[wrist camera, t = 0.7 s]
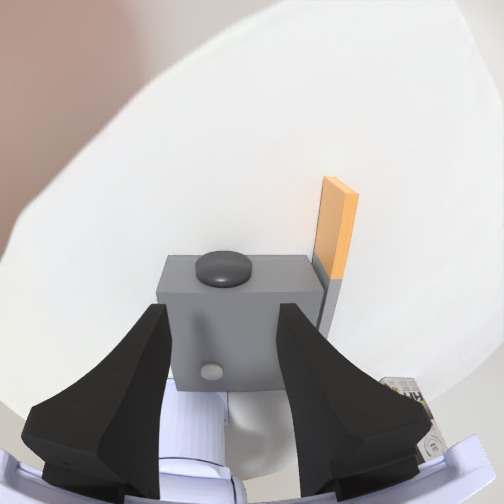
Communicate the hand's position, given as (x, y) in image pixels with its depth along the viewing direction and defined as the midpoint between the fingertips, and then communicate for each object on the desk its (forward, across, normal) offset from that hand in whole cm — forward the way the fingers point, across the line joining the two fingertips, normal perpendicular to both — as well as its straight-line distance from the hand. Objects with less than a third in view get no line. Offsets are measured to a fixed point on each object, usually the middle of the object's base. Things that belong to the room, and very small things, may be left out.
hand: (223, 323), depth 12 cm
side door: (+9, -7, +4) cm, 12 cm away
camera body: (+9, -1, +7) cm, 12 cm away
